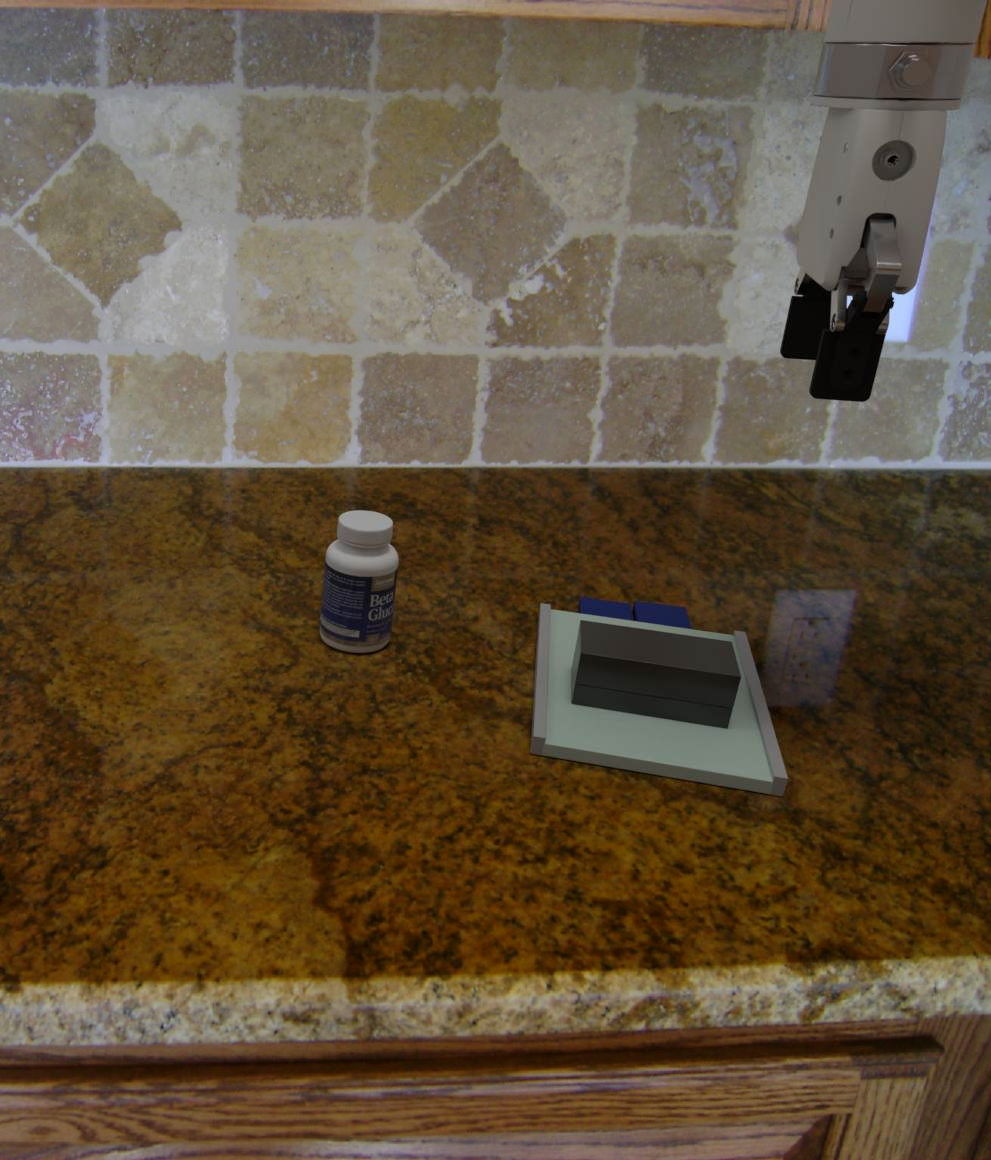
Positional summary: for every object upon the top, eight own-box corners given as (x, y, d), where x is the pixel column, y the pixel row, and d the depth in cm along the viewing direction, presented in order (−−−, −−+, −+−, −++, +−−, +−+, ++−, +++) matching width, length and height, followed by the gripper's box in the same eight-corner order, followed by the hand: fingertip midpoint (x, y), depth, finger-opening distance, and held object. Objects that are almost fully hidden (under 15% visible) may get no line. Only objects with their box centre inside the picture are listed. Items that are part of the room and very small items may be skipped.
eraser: (719, 691, 81) (732, 641, 79) (727, 729, 77) (741, 676, 75) (571, 669, 83) (580, 619, 82) (571, 704, 79) (580, 652, 77)
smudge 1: (629, 612, 95) (630, 603, 94) (631, 634, 91) (633, 625, 91) (578, 605, 96) (579, 596, 95) (578, 626, 92) (580, 617, 92)
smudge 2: (684, 615, 94) (686, 606, 93) (689, 638, 90) (691, 629, 90) (632, 609, 95) (634, 600, 94) (636, 631, 91) (637, 622, 91)
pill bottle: (374, 662, 85) (386, 540, 81) (307, 643, 88) (316, 524, 83) (400, 632, 90) (413, 515, 85) (336, 615, 92) (346, 500, 88)
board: (741, 647, 89) (745, 631, 89) (783, 797, 72) (788, 778, 71) (537, 618, 93) (540, 602, 92) (530, 753, 75) (533, 735, 75)
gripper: (1019, 86, 57) (926, 423, 64) (919, 76, 72) (854, 349, 80) (852, 84, 59) (780, 412, 66) (789, 74, 74) (736, 342, 81)
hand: (820, 377), depth 73 cm, fingers open, 9 cm apart
